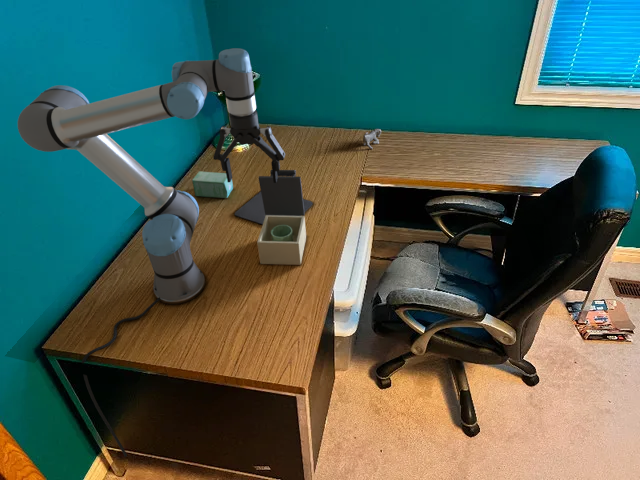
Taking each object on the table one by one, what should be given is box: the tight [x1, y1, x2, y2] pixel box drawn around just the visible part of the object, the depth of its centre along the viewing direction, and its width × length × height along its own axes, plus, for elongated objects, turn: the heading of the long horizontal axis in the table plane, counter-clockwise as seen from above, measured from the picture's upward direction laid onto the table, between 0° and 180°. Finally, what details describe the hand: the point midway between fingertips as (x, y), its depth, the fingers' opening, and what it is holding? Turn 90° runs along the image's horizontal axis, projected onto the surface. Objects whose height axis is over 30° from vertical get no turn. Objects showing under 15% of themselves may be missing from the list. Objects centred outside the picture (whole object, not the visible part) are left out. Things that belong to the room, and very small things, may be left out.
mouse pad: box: [234, 191, 313, 226], centre depth 180 cm, size 23×20×1 cm
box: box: [191, 170, 234, 199], centre depth 189 cm, size 7×14×8 cm, turn 79°
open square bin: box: [256, 215, 307, 266], centre depth 158 cm, size 15×13×9 cm
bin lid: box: [258, 169, 306, 216], centre depth 157 cm, size 16×13×7 cm
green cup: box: [271, 225, 293, 242], centre depth 157 cm, size 7×7×8 cm
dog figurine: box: [362, 128, 382, 150], centre depth 215 cm, size 12×6×7 cm, turn 138°
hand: (252, 180), depth 141 cm, fingers open, 13 cm apart
